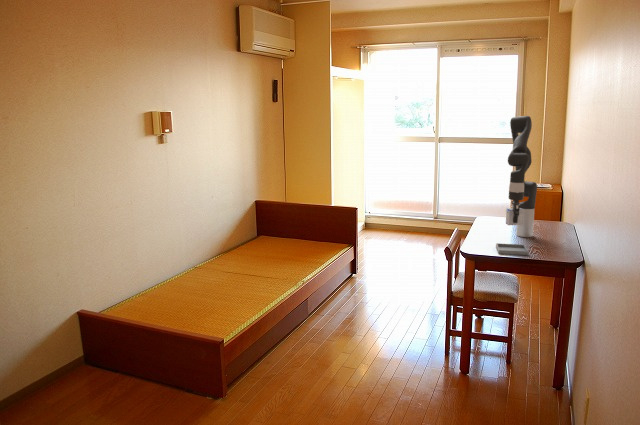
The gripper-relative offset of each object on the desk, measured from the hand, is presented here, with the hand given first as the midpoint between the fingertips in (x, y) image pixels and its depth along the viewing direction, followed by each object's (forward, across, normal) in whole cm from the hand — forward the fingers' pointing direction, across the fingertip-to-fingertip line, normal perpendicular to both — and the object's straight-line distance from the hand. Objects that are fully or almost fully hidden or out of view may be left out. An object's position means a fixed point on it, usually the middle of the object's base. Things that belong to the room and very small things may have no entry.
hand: (514, 221), depth 283 cm
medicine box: (+2, 0, 0) cm, 2 cm away
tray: (+17, 0, 0) cm, 17 cm away
